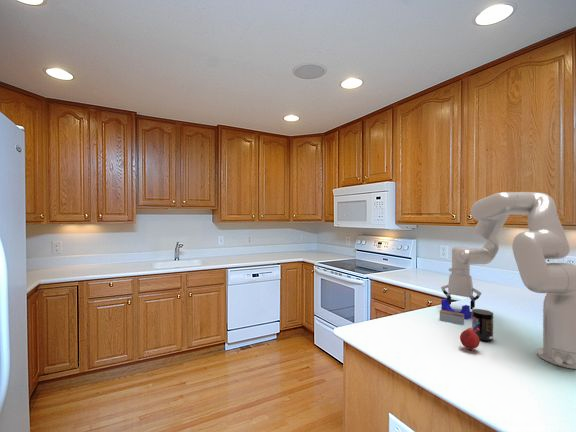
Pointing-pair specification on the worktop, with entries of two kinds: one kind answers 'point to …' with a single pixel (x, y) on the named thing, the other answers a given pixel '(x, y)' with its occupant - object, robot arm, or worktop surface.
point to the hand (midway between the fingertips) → (460, 306)
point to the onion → (469, 339)
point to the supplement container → (483, 324)
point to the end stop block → (452, 317)
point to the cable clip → (464, 310)
